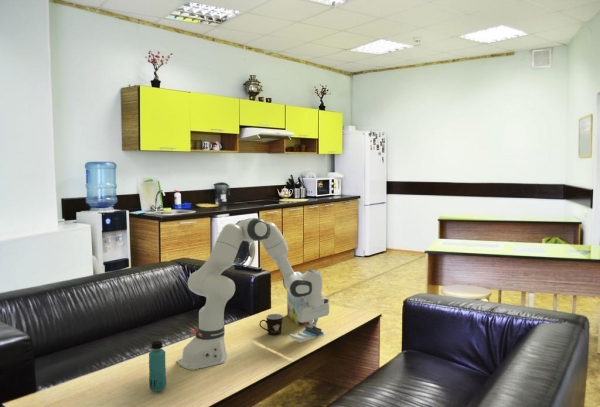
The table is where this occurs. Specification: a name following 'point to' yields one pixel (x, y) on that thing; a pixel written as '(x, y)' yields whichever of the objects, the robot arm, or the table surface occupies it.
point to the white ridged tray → (304, 336)
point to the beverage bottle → (157, 367)
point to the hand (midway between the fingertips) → (313, 327)
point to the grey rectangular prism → (313, 330)
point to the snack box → (294, 306)
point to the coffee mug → (273, 324)
